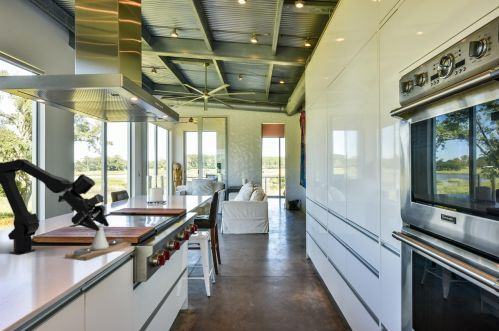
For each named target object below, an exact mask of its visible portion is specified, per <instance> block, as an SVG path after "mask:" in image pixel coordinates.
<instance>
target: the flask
mask: <svg viewBox="0 0 499 331" xmlns="http://www.w3.org/2000/svg"><path fill="white" fill-rule="evenodd" d="M96 225H97V226H98V227H99V231H96V230H95V234H94V237H93V241H92V243H91V246H90V247H91V250H102V249H107V248H108V247H109V245H108V242H109V241H107V237H106V234H105V231H104V224H100V223H98V224H96Z"/></svg>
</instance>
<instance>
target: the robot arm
mask: <svg viewBox="0 0 499 331" xmlns="http://www.w3.org/2000/svg"><path fill="white" fill-rule="evenodd" d="M19 171H22V172H24V173H25V174H27V175H29V176H31V177H33V178H34V179H36V180H38V181H40V182H42V183H43V184H44V185H45V187H46V188H47V189H48V190H49V191H51V192H52V193H53V194H60V193H63V194H61V195H58V199H57V202H58V203H63V202H65V203H67V204H68V205H69V206H70V207H71V209H70V210H71V211H72V212H75V214H74V215H73V216H72V217H71V222H72V224H73V225H74V226H76V225H77V226H81V227H85V228H87V229H90V230H93V231H95V232H96V231H99V227H98V226H97V224H96V222H97V223H98V224H104V226H105V227H106V228H108V227H109V226H110V223H109V221H108V220H107V218H106V216H105V211H106V207H105V206H104V204H101V203H104V201H105V200H104V198H105V197H104V196H103V195H102V194H100V193H98V194H96V195H93V196H92V197H90V198H85V197H84V196H82V195H86V194H88V192H89V191H90V190H91V189H92V188H93V187H94V186H95V185H96V182H95V181H94V180H93V179H92V178H91V177H89V176H87V175H85V174H84V173H82V174H80V175H79V176H78V177H77V178H76V179H75V180H74V181H70V180H69V179H67V178H65V177H62V176H58V175H55V174H52V173H50V172H48V171H46V170H44V169H43V168H41V167H39V166H37V165H36V164H34V163H32V162H31V161H29V159H25V158H24V159H23V158H17V159H15V160H14V159H13V160H9V161H3V162H0V185H1V187H2V190H3V193H4V194H5V198H6V201H7V202H8V204H9V207H10V209H11V210H12V211H11V212H12V213H13V215H14V216H13V223H12V224H13V227H14V228H13V230H11V231H10V232H9V233H8V234H7V237H8V239H9V240H10V241H11V240H13V250H12V251H9V254H14V255H23V254H27V253H30V252H35V251H36V249H33V248H32V247H33V245H32V244H33V243H32V236H35V235H36V232H37V230H38V229H39V227H40V219H39V218H38V216H37V213H31V212H30V211H29V210H28V207H27V205H26V203H25V201H24V198H23V196H22V194H21V191H20V190H19V187H18V185H17V182H16V176H17V172H19ZM104 226H103V227H104Z"/></svg>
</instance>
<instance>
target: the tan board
mask: <svg viewBox="0 0 499 331" xmlns="http://www.w3.org/2000/svg"><path fill="white" fill-rule="evenodd" d="M107 242H108V245H109V241H107ZM131 246H132V243H131V242H126V241H123V243H120V244H117V245H109V247H108V248H107V249H102V250H91V253H88V254H85V255H81V256H75V255H74V251H73V252H70V253H67V254H65V255H64V257H65V259H72V260H81V261H89V260H92V259H96V258H98V257H101V256H103V255H104V256H105V255H107V254H110V253H113V252H116V251H118V250H119V251H120V250H122V249H126V248H128V247H131ZM89 248H91V246H90V247H89Z"/></svg>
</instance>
